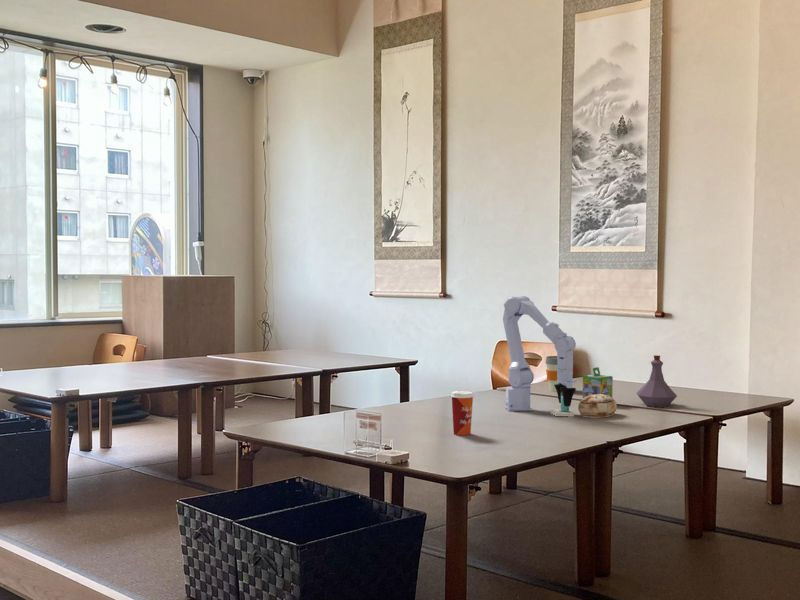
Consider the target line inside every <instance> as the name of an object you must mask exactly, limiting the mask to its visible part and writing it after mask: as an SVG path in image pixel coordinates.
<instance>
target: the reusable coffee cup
mask: <svg viewBox="0 0 800 600" xmlns="http://www.w3.org/2000/svg"><path fill="white" fill-rule="evenodd" d="M557 356H558V355H549V356H545V364H546V369H545V371H546V373H545V374H546V379H547V381H548V389H549V390H548V391H550V392H555V393H557V391H556V388H555V386H554V385H555V384H559V383H557ZM574 364H575V362H574V358H573V365H574Z"/></svg>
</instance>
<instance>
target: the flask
mask: <svg viewBox="0 0 800 600" xmlns="http://www.w3.org/2000/svg"><path fill="white" fill-rule="evenodd" d="M650 364H651V371H650V372H651V373H650V375H649V379H648V380H647V382H646V383H645V384H644V385H643V386H642V387H641V388H640V389H639V390H638V391H637V392H636V393H635V394H636V395H637V396H638V398H639V399H640V400H641V402H642V403H643V404H644V405H645V406H646V405H648V406H647V407H652V406H665V407H668V406H670V405H671V404H672V402H673V401H674V400H676V398H677V397H678V395H677V394H676V393H675V392H674V390H672V388H670V386H669V384H668V383H667V382H666V380H665V378H664V374H663V370H662V369H663V368H662V367H663V365H664V362H663V361H662V360H661V355H656V354H655V355H653V360H651V361H650Z"/></svg>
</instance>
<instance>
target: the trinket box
mask: <svg viewBox="0 0 800 600" xmlns="http://www.w3.org/2000/svg"><path fill="white" fill-rule="evenodd" d="M617 405H618V404H617V401H616V400H615V399H614V398H613V396H612V397H610V396H607V395H603V394H595V395H588V396H586V397H585V398H583V397H582V399H581V400H580V401H579V403H578V406H577V408H578V409H577V410H578V412H579V414H580V417H582V416H583V417H582V418H588V417H590V418H592V419H597V418H598V419H601V418H607V417H612V416H614V415H615V412H616V410H617Z"/></svg>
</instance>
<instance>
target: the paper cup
mask: <svg viewBox="0 0 800 600" xmlns="http://www.w3.org/2000/svg"><path fill="white" fill-rule="evenodd" d="M450 397H451V409H452V424H453V425H452V427H453V428H452V429H453V435H456V436H461V435H464V436H470V435H471V432H472V431H471V429H472V415H473V401H474V397H475V396H474V393H473V392H472V391H467V390H461V391H460V390H457V391H456V390H455V391H451V395H450ZM469 434H470V435H469Z"/></svg>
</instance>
